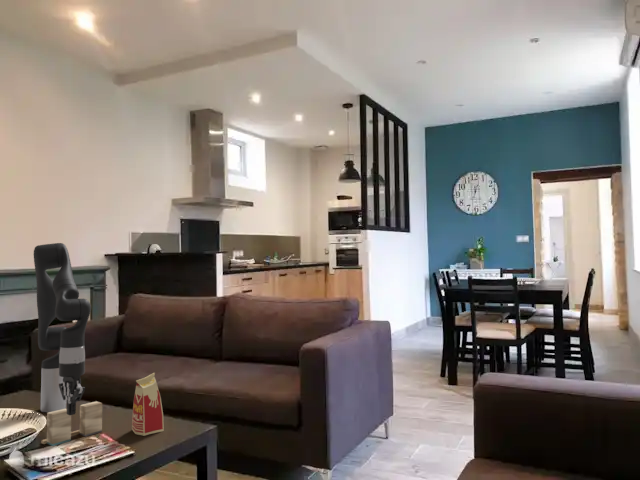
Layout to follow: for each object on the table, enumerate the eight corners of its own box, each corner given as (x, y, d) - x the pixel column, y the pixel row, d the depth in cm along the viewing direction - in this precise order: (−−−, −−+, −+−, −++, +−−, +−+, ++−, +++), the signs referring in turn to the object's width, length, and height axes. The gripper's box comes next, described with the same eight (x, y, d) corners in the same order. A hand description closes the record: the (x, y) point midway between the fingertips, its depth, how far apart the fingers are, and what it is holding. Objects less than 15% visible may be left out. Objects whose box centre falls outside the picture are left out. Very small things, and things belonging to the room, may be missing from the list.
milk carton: (153, 425, 184) (153, 369, 185) (165, 430, 177) (165, 373, 178) (128, 430, 177) (129, 373, 178) (140, 437, 171) (140, 378, 172)
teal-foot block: (46, 443, 165) (47, 412, 166) (64, 438, 170) (65, 408, 171) (52, 446, 163) (53, 414, 163) (70, 440, 168) (71, 410, 168)
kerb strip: (41, 443, 165) (41, 440, 166) (96, 427, 181) (96, 425, 181) (43, 444, 165) (43, 441, 165) (98, 428, 180) (98, 425, 180)
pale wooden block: (79, 434, 174) (79, 405, 175) (95, 429, 179) (96, 401, 179) (85, 436, 172) (85, 407, 172) (101, 431, 177) (102, 403, 177)
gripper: (50, 360, 164) (49, 413, 163) (70, 364, 156) (69, 421, 155) (73, 356, 170) (72, 408, 169) (93, 360, 162) (93, 415, 161)
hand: (71, 414), depth 162 cm, fingers closed
